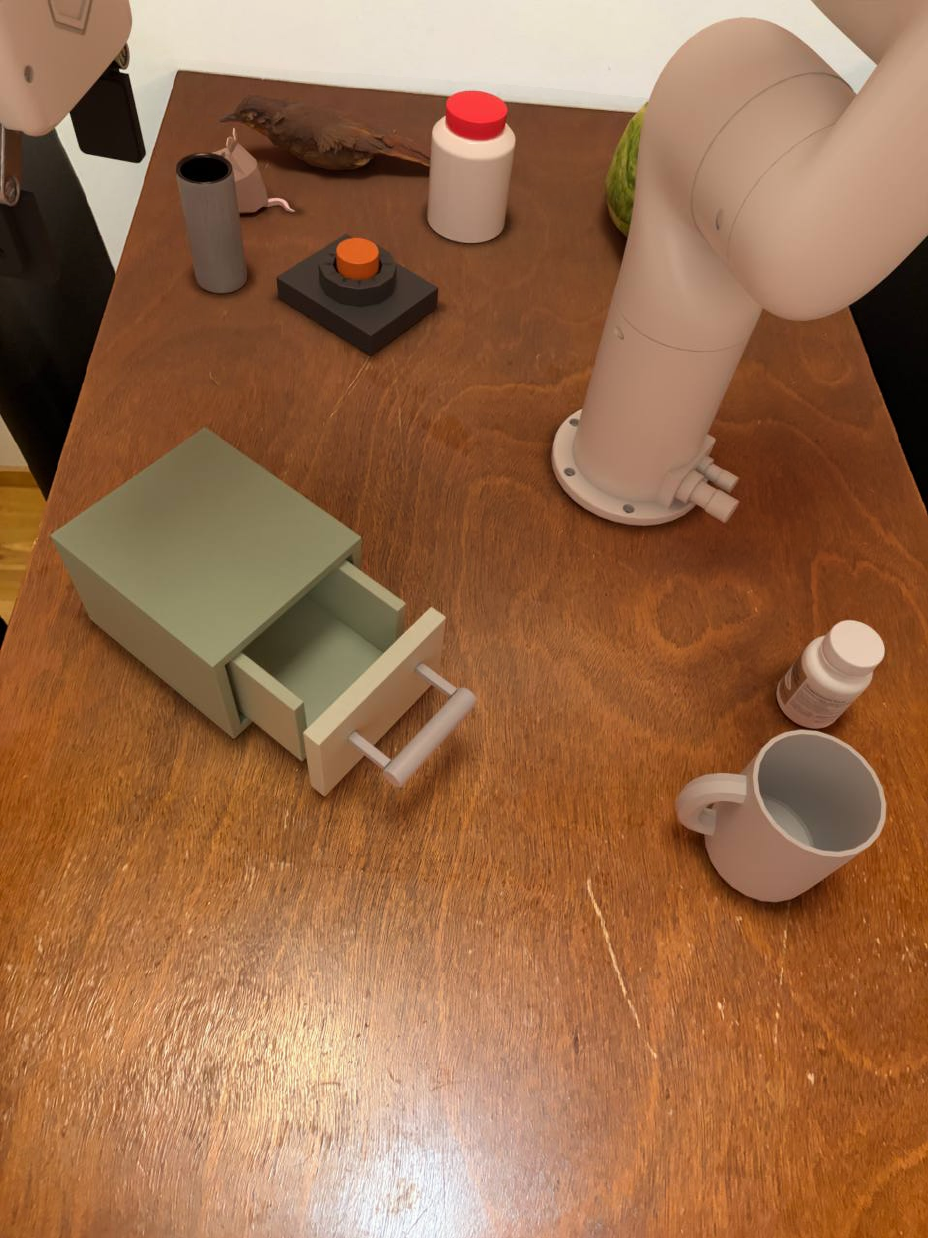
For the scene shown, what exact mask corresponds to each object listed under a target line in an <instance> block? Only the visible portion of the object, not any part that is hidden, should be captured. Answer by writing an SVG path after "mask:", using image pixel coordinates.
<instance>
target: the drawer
mask: <svg viewBox="0 0 928 1238" xmlns="http://www.w3.org/2000/svg"><path fill="white" fill-rule="evenodd" d="M406 611H407V603H406V602H405V601H404V600H402V599H401V598H399V597H398V596H397V595H395V594H394V593H393V592H391V591H390V590H389V589H387V588H386V587H384V586H383V585H381V584H380V583H379V582H378V581H376V580H375V579H373V578H372V577H370V576H369V575H368V574H367V573H365V572H364V571H363V570H362V571H361V570H359V569H358V568H356V567H355V566H354V565H352V564H351V563H349V562H348V561H347V560H344V561H343V562H342V563H341V564H339V565H338V566H337V567H336V568H335V569H334V570H333V571H331V572H330V573H329V574H328V575H327V576H326V577H325V578H324V579H322V580H321V581H320V582H319V583H318V584H317V585H316V586H314V587H313V588H312V589H311V590H310V591H309V592H308V593H306V594H305V595H304V596H303V597H302V598H301V599H300V600H298V601H297V602H296V603H295V604H294V605H293V606H292V607H291V608H289V609H288V610H287V611H286V612H285V613H284V614H283V615H281V616H280V617H279V618H278V619H277V620H276V621H275V622H273V623H272V624H271V625H270V626H269V627H268V628H267V629H265V630H264V631H263V632H262V633H261V634H260V635H259V636H258V637H256V638H255V639H254V640H253V641H252V642H251V643H250V644H248V645H247V646H246V647H245V648H244V649H243V650H242V651H240V652H239V653H238V654H237V655H236V656H235V657H234V658H232V659H231V660H230V661H229V662H228V663H227V664H226V665H225V668H226V672H227V675H228V679H229V683H230V686H231V690H232V694H233V697H234V701H235V705H236V708H237V709H238V710H240V711H241V712H242V713H243V714H244V715H246V716H247V717H248V718H249V719H251V720H252V721H253V722H252V723H254V724H255V725H256V726H258V728H260V729H261V730H263V731H264V732H265V733H266V734H267V735H268V736H270V737H271V738H272V739H274V740H275V741H276V742H277V743H279V744H280V745H281V746H282V747H283V748H285V749H286V750H287V751H288V752H290V753H291V754H292V755H293V756H294V757H296V758H297V760H299V761H301V762H303V761H304V760H305V759H306V764H307V769H308V770H307V771H308V777H309V784H310V786H311V787H312V788H313V789H315V790H316V791H317V792H318V794H321V796H323V797H326V796H327V795H328V794H329V793H330V792H331V791H332V790H333V789H334V788H335V787H336V786H337V785H338V784H339V782H341V781H342V780H343V778H344V777H345V776H346V775H348V773H349V772H350V771H351V770H352V769H353V768H354V767H355V766H356V765H357V764H358V762H359V761H361V760H362V759H363V757H364V756H365V757H366V758H367V759H369V760H370V761H371V762H372V763H373V764H375V765H376V766H377V767H378V768H380V769H381V770H382V774H383V777H384V778H385V779H386V781H388V782H389V783H390V784H391V785H392V786H394V787H395V788H398V789H401V788H403V787H404V786H405V785H406V783H407V782H408V781H409V780H411V778H412V777H413V776H414V774H416V772H417V771H419V769H420V768H421V767H423V765H424V764H425V763H426V761H427V760H428V759H429V758H430V757H431V756H432V755H433V754H434V753H435V751H436V750H437V749H438V748H439V747H440V746H441V745H442V743H444V741H445V740H446V739H447V738H448V737H449V736H450V735H451V734H452V733H453V731H454V730H455V729H456V728H457V727H458V726H459V725H460V724H461V723H462V721H463V720H464V719H465V718H466V717H467V716H468V715H469V713H470V712H471V711H472V710H473V709H474V708H475V707H476V706H477V705H478V702H479V701H478V697H476V694H474V692H472V691H471V690H470V689H469V688H467V687H463V686H461V687H459V688H457V687H456V686H455V685H453V684H452V683H451V682H449V681H448V680H446V678H444V677H442V676H441V675H440V669H441V662H442V661H441V659H442V653H443V645H444V638H445V630H446V623H447V617H446V616H445V614H442V613H441V612H440V611H438V609H435V608H434V607H433V606H430V607H429V608H428V609H427V610H426V611H425V612H424V613H422V614H421V616H420V617H418V619H417V620H415V622H414V623H413V624H412V625H411V626H410V627H409V628H407V630H406V629H405V628H406V627H405V626H406ZM431 686H432V687H433V688H435V689H436V690H438V691H439V692H440V693H442V695H444V696H446V697H447V698H448V700H447V701H446V702H445V703H444V704H443V705H442V706H441V708H439V709H438V711H437V712H435V714H434V715H433V716H432V717H431V718H430V719H429V720H428V721H427V722H426V724H425V725H423V727H422V728H421V729H420V730H419V731H418V732H417V733H416V734H415V735H414V736H413V737H412V739H411V740H410V741H409V742H408V743H407V744H406V745H405V746H404V748H402V750H400V752H398V754H397V755H396V756H395V757H393V759H391V758H390V757H388V756H387V755H386V754H385V753H383V752H382V751H381V750H379V749H378V748H377V747H375V745H376V744H377V743H378V742H379V741H380V739H381V738H383V737H384V735H385V734H386V733H387V732H388V731H389V730H390V729H391V728H392V727H393V726H394V725H395V724H396V722H398V721H399V720H400V719H401V717H403V716H404V715H405V714H406V712H407V711H408V710H409V709H410V708H411V707H412V706H413V705H414V704H415V703H416V702H417V701H418V700H419V699H420V698H421V697H422V695H424V693H426V692H427V690H428V689H430V687H431Z"/></svg>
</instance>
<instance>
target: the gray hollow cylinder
mask: <svg viewBox="0 0 928 1238" xmlns="http://www.w3.org/2000/svg"><path fill="white" fill-rule="evenodd" d="M174 171H175V176H176V177H175V178H176V182H177V187H178V192H179V198H180V203H181V208H182V213H183V219H184V224H185V229H186V234H187V235H186V236H187V240H188V245H189V249H190V250H189V251H190V255H191V261H192V266H193V271H194V277H195V280H196V283H197V284H198V286H200V288H202V289H203V290H205V291H207V292H210V293H214V294H227V293H232V292H235V291H238V290H240V289H241V288H242V287H243V286H245V284H246V283H247V280H248V270H247V262H246V255H245V248H244V241H243V233H242V232H243V231H242V225H241V217H240V214H239V209H238V201H237V194H236V186H235V179H234V172H233V166H232V164H231V163H230V161H229V160H227V159H226V158H225V157H223V156H221V155H218V154H214V153H213V152H195V153H194V152H193V153H191V154H188V155H185V156H183V157H182V158H181V159H180V160H178V161H177V162H176V164H175V167H174Z"/></svg>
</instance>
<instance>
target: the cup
mask: <svg viewBox="0 0 928 1238" xmlns="http://www.w3.org/2000/svg"><path fill="white" fill-rule="evenodd" d="M880 781H881V780H880V779H879V777H878V775H877V773H876V771H875V770H874V769H873V767H872V766H871V765H870V764H869V762H868V761H867V760H866V759H865V757H863V755H861V754H860V752H858V751H857V750H856V749H855V748H853V747H852V746H851V745H850V744H849V743H846V742H845V741H842V740H841V739H839V738H837V737H835V736H834V735H832V734H831V735H830V734H828V733H824V732H821V731H819V730H810V729H796V730H790V731H785V732H783V733H781V734H778V735H776V736H774V737H772V738H771V739H770V740H769V741H768V742H767V743H766V744H764V745H763V747H762V748H761V749H760V750H759V751H758V752H757V753H756V754H755V755H754V757H752V759H751V760H750V761H749V762H748V763H747V764H746V766H745V767H744V768H743V769H742V770H741V772H740V773H739V774H738V773H729V772H728V773H727V772H719V773H708V774H703V775H701V776H699V777H696V778H693V779H692V780H690V781H689V782H687V783H686V784H685V785H684V786H683V788H682V789H681V790H680V791H679V794H678V795H677V797H676V799H675V803H674V810H675V813H676V815H677V817H678V820H679V822H680V824H681V825H683V826H684V827H685V828H687V829H689V830H690V831H693V832H695V833H698V834H702V835H704V836H703V837H704V844H705V849H706V852H707V854H708V857H709V861H710V862H711V864H712V865H713V867H714V868H715V870H716V872H717V873H718V874H719V876H720V877H721V878H722V879H723V880H724V881H725V882H726V883H727V884H728V885H729V886H730V887H731V888H733V889H734V890H736V891H738V892H739V893H741V894H742V895H744V896H746V897H747V898H748V897H749V898H752V899H754V900H757V901H759V902H770V903H779V902H784V901H785V902H786V901H789V900H792V899H795V898H796V897H798V896H799V895H802V894H803V893H805V892H807V891H809V890H810V889H811V888H813V887H814V886H816V885H817V884H819V883H820V882H821V881H823V880H824V879H826V878H827V877H828V876H830V875H831V874H833V873H834V872H835V871H837V870H838V869H840V868H841V867H842V866H844V865H845V864H847V863H848V862H850V861H851V860H852V859H854V858H855V857H857V856H858V855H859V854H861V853H862V852H864V851H865V850H867V849H868V848H870V847H871V846H872V845H873V843H874V842H875V841H876V840H877V839H878V838H879V836H880V835H881V833H882V831H883V828H884V826H885V823H886V818H887V816H886V815H887V801H886V797H885V792H884V788H883V785H882V784H881V782H880ZM712 804H713V805H712ZM710 805H712V807H711V808H708V806H710Z"/></svg>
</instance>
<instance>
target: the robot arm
mask: <svg viewBox="0 0 928 1238" xmlns="http://www.w3.org/2000/svg"><path fill="white" fill-rule="evenodd" d="M810 1H811V2H812V4H813V5H815V7H816V8H817V9H818V10H819V11H820V12H821V13H822V14H823V16H824V17H826V19H828V20H829V21H830V22H831V24H833V25H834V26H835V27H836V28H837V29H838V30H839V31H840V32H841V33H842V34H843V35H844V36H845V37H846V38H847V39H848V40H849V41H850V42H852V43H853V44H854V45H855V46H856V47H857V48H858V49H859V50H860V51H861V52H862V53H863V54H864V55H866V57H868V58H869V59H870V60H871V61H872V62H873V63H874V64H875V65H876V66H875V68H874V69H873V71H872V72H871V74H870V75H869V77H868V79H867V80H866V81H865V82H864V84H863V85H862V87H861V88H860V90H859V91H858V92H857V93H856V92H855V91H854V89H853V87H852V86H851V85H850V83H848V82H847V81H846V80H845V79H844V78H843V77H842V75H840V74H839V73H838V72H837V71H836V70H834V68H833V67H832V66H830V64H828V62H826V60H824V59H823V58H822V57H821V56H820V54H818V53H817V52H816V51H815V50H814V49H813V48H812V47H811V46H810V45H809V44H807V43H806V42H805V41H804V40H802V39H801V38H800V37H798V36H797V35H796V34H794V33H793V32H791V31H790V30H788V29H786V28H785V27H783V26H781V25H779V24H776V23H775V22H772V21H769V20H765V19H761V18H756V17H746V16H745V17H743V16H741V17H733V18H728V19H727V18H726V19H724V20H720V21H717V22H715V23H712V24H710V25H709V26H706V27H704V28H703V29H701V30H699V31H698V32H697V33H695V34H694V35H692V36H690V37H689V38H688V39H687V40H686V41H685V42H684V43H683V44H682V45H681V46H680V47H678V49H677V50H676V52H675V53H674V54H673V55H672V56H671V57H670V59H669V60H668V62H667V63H666V64H665V66H664V68H663V69H662V70H661V72H660V74H659V76H658V78H657V80H656V82H655V83H654V85H653V88H652V90H651V93H650V95H649V98H648V100H649V101H648V100H647V101H648V104H647V108H646V111H645V115H644V119H643V123H642V128H641V134H640V141H639V149H638V160H637V171H636V183H635V196H634V204H633V212H632V218H631V224H630V230H629V234H628V238H627V239H626V243H625V247H624V252H623V255H622V261H621V265H620V268H619V272H618V276H617V279H616V284H615V286H614V289H613V293H612V296H611V301H610V305H609V308H608V312H607V315H606V320H605V323H604V327H603V330H602V334H601V338H600V341H599V346H598V349H597V353H596V356H595V361H594V362H593V363H594V364H593V368H592V371H591V374H590V378H589V383H588V386H587V390H586V393H585V397H584V400H583V405H582V408H580V409H578V410H576V411H575V412H574V413H572V414H570V415H569V416H568V417H567V418H566V419H565V420H563V422H562V423H560V426H559V427H558V429H557V431H556V433H555V435H554V438H553V442H552V447H551V452H550V453H551V454H550V459H551V465H552V466H551V467H552V470H553V473H554V476H555V478H556V480H557V482H558V483H559V485H560V487H561V488H562V489H563V491H564V492H565V493H566V494H567V495H568V496H569V497H570V498H571V499H572V501H574V502H575V503H576V504H578V506H581V507H582V508H583V509H585V510H586V511H588V512H590V513H592V514H594V515H596V516H597V517H600V518H603V519H606V520H608V521H611V522H613V523H619V524H623V525H627V526H641V527H643V526H656V525H662V524H666V523H668V522H672V521H674V520H677V519H679V518H681V517H683V516H685V515H686V514H687V513H689V512H690V511H691V510H692V509H694V508H695V506H696V505H697V506H698V507H700V508H702V509H703V510H704V512H705V513H707V514H709V516H712V517H713V518H715V519H717V520H718V521H719V522H722V523H723V524H725V523H727V522H728V521H729V519H730V518H731V516H732V515H733V514H734V513H735V511H736V509H737V508H738V506H739V504H740V501H739V500H738V499H737V498H735V497H733V496H731V495H730V493H731V492H732V491H733V489H734V488H735V486H736V485H737V484H738V482H739V480H740V477H738V476H737V475H735V474H733V473H732V472H730V471H729V470H726V469H723V468H721V467H720V466H718V465H717V464H715V463H714V462H715V459H714V458H712V457H710V454H711V452H712V450H713V448H714V446H715V443H716V441H717V439H716V438H715V437H714V436H712V435H710V434H709V432H710V429H711V428H712V425H713V422H714V421H715V418H716V416H717V414H718V411H719V410H720V407H721V405H722V402H723V400H724V397H725V395H726V393H727V391H728V389H729V386H730V384H731V381H732V379H733V377H734V375H735V373H736V370H737V368H738V366H739V364H740V361H741V359H742V357H743V354H744V352H745V350H746V348H747V345H748V343H749V341H750V339H751V336H752V334H753V332H754V330H755V329H756V326H757V323H758V321H759V319H760V316H761V315H762V312H763V310H765V311H766V312H768V313H770V314H771V315H773V316H775V317H778V318H780V319H782V320H787V321H793V322H807V321H813V320H814V321H815V320H818V319H823V318H826V317H828V316H831V315H833V314H836V313H838V312H840V311H841V310H844V309H846V308H847V307H849V306H851V305H852V304H854V303H856V302H857V301H859V300H860V299H862V298H863V297H864V296H866V295H867V294H868V293H869V292H871V291H872V290H873V289H875V287H877V286H878V285H879V284H881V282H882V281H883V280H885V279H886V278H888V276H889V275H890V274H891V273H892V272H893V271H895V269H897V267H898V266H900V265H901V263H902V262H903V261H905V260H906V259H907V257H909V255H910V254H911V253H912V252H913V251H914V250H915V249H916V248H917V247H918V246H919V245H920V244H921V243H922V242H923V241H924V240H925V239H926V238H927V237H928V0H810ZM130 3H131V2H130V0H0V277H4V278H9V279H10V278H11V279H16V280H20V281H27V282H30V283H36V284H41V285H47V286H54V285H55V284H57V282H58V281H59V279H60V277H61V275H62V273H61V269H60V266H59V263H58V259H57V257H56V256H57V255H56V254H55V250H54V248H53V245H52V241H51V239H50V236H49V232H48V230H47V227H46V225H45V221H44V219H43V216H42V214H41V210H40V207H39V203H38V200H37V198H36V196H35V193H34V192H33V191H28V190H25V189H21V188H22V187H21V184H22V160H23V159H22V158H23V133H24V135H27V136H31V137H43V136H45V135H47V134H49V133H50V132H52V131H53V130H54V129H55V128H56V127H57V126H59V124H60V123H61V122H62V121H63V120H64V119H65V118H66V117H67V116H68V115H69V116H70V120H71V123H72V127H73V131H74V134H75V138H76V141H77V144H78V145H77V146H78V148H79V150H80V151H81V152H82V153H83V154H85V155H87V156H93V157H94V156H95V157H98V158H99V157H100V158H105V159H109V160H111V159H112V160H115V161H121V162H126V163H132V164H140V163H142V161H143V160H144V159H145V157H146V155H147V150H146V145H145V140H144V136H143V132H142V126H141V122H140V118H139V114H138V109H137V105H136V100H135V96H134V91H133V87H132V82H131V78H130V73H128V72H127V73H126V72H122V71H120V70H125V71H126V70H127V69H128V67H129V65H130V58H131V54H130V48H129V44H128V40H129V38H130V35H131V32H132V29H133V28H132V27H133V15H132V8H131V4H130ZM708 481H710V482H711V483H713V484H714V485H715V486H717V487H718V489H716V488H715V487H713V486H711V485H710V484H709V483H708ZM719 488H720V489H719ZM726 492H727V493H726Z"/></svg>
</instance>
